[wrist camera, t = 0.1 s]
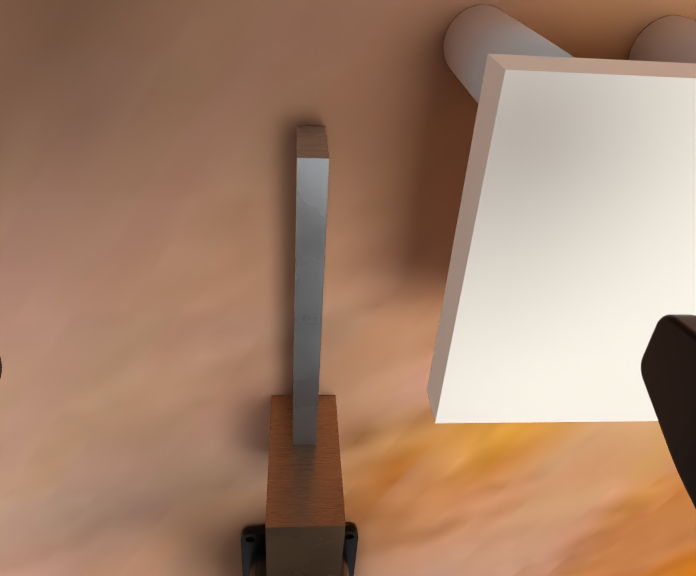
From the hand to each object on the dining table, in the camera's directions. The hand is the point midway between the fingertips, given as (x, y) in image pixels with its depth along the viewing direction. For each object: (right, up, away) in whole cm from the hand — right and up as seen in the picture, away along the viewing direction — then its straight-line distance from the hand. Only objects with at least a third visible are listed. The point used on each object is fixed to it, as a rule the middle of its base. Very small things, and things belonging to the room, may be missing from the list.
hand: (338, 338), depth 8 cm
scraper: (-2, -1, +18) cm, 18 cm away
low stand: (+11, +5, +15) cm, 19 cm away
